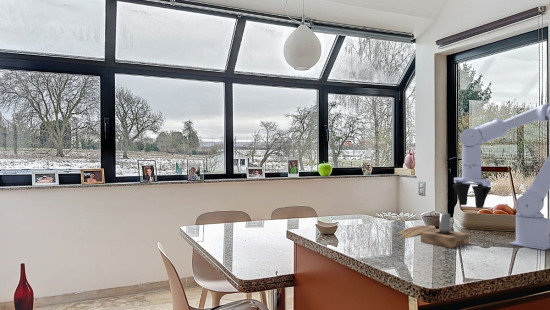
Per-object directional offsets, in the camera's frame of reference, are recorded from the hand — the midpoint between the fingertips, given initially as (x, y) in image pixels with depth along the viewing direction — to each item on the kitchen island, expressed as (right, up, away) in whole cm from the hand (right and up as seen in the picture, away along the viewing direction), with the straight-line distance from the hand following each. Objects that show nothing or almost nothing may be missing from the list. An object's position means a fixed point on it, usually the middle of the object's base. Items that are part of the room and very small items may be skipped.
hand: (471, 206), depth 133 cm
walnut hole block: (-12, -10, -7) cm, 17 cm away
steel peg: (-12, -10, -7) cm, 17 cm away
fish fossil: (-16, -11, +10) cm, 21 cm away
